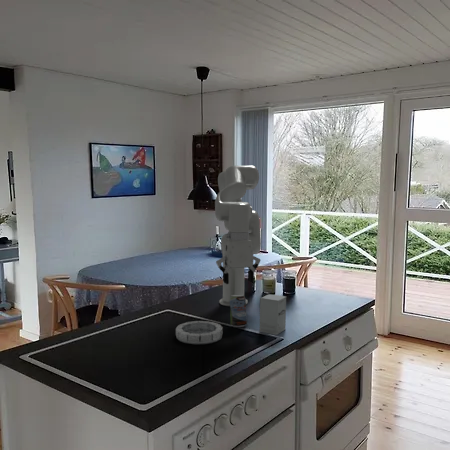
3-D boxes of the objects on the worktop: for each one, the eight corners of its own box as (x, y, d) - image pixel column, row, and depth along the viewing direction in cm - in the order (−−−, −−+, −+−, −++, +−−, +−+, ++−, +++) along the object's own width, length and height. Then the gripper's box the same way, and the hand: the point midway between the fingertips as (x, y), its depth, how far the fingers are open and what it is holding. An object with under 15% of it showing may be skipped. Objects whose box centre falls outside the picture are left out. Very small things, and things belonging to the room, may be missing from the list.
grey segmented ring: (171, 331, 165) (171, 323, 165) (213, 327, 171) (213, 319, 170) (182, 346, 150) (182, 337, 150) (228, 341, 156) (228, 332, 155)
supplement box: (277, 335, 162) (278, 300, 161) (258, 331, 166) (259, 297, 164) (286, 329, 168) (286, 296, 167) (268, 326, 172) (268, 293, 171)
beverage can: (235, 330, 167) (235, 298, 166) (226, 324, 174) (226, 293, 173) (250, 327, 170) (250, 296, 169) (240, 322, 177) (240, 291, 175)
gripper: (219, 238, 162) (219, 286, 164) (264, 237, 168) (263, 282, 169) (213, 236, 169) (213, 282, 171) (256, 234, 175) (255, 279, 176)
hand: (238, 282), depth 170 cm, fingers open, 9 cm apart
